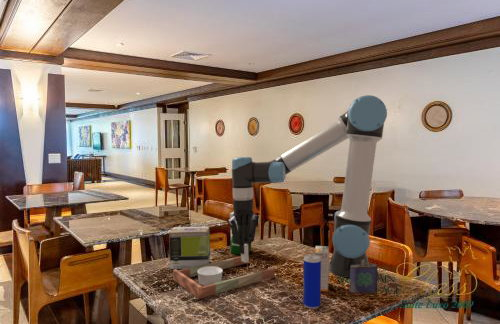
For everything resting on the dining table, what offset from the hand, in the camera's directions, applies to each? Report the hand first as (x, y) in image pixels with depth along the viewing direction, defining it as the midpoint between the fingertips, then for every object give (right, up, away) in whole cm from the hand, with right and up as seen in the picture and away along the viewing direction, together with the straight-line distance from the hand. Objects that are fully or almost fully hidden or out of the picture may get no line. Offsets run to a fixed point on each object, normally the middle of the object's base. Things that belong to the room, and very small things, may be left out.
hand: (244, 261), depth 135 cm
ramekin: (-12, -6, -8) cm, 15 cm away
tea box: (-22, -4, +10) cm, 24 cm away
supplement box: (+26, -6, -12) cm, 29 cm away
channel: (-7, -5, -4) cm, 9 cm away
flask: (+39, -6, -16) cm, 43 cm away
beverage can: (+21, -6, -26) cm, 34 cm away
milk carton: (-2, -3, +27) cm, 27 cm away
